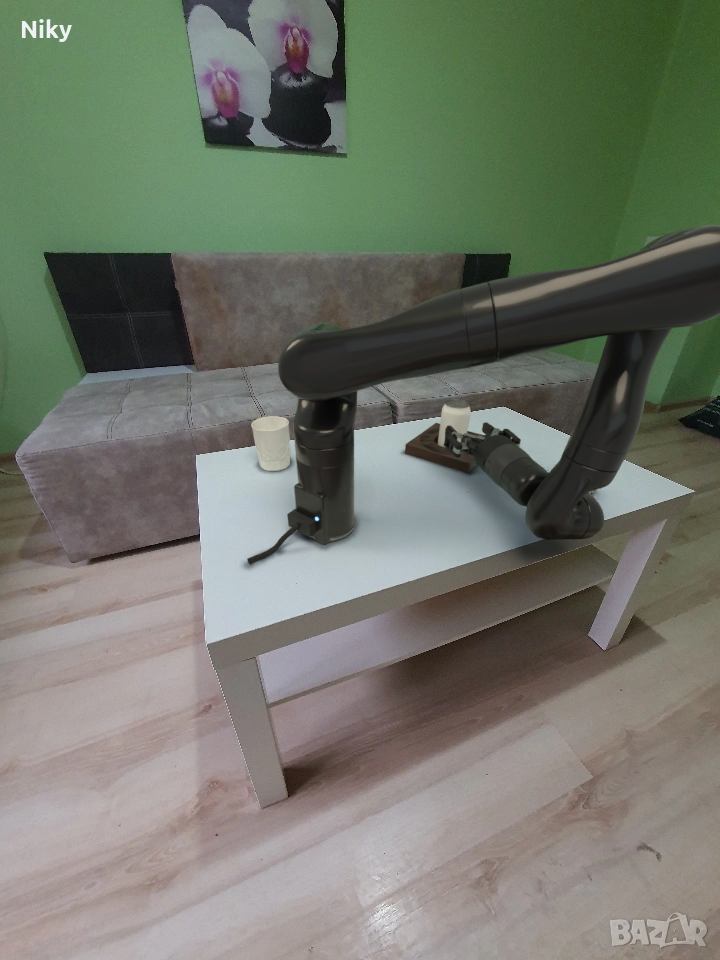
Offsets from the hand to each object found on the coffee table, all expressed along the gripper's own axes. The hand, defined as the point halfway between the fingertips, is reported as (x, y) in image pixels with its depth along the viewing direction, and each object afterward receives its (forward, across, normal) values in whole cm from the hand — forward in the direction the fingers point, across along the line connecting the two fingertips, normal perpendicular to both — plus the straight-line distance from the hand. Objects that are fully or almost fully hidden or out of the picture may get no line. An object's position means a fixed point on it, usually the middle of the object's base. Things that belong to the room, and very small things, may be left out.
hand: (465, 427), depth 84 cm
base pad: (+6, 0, +8) cm, 10 cm away
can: (+6, 0, +9) cm, 11 cm away
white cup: (+8, +42, +9) cm, 43 cm away
